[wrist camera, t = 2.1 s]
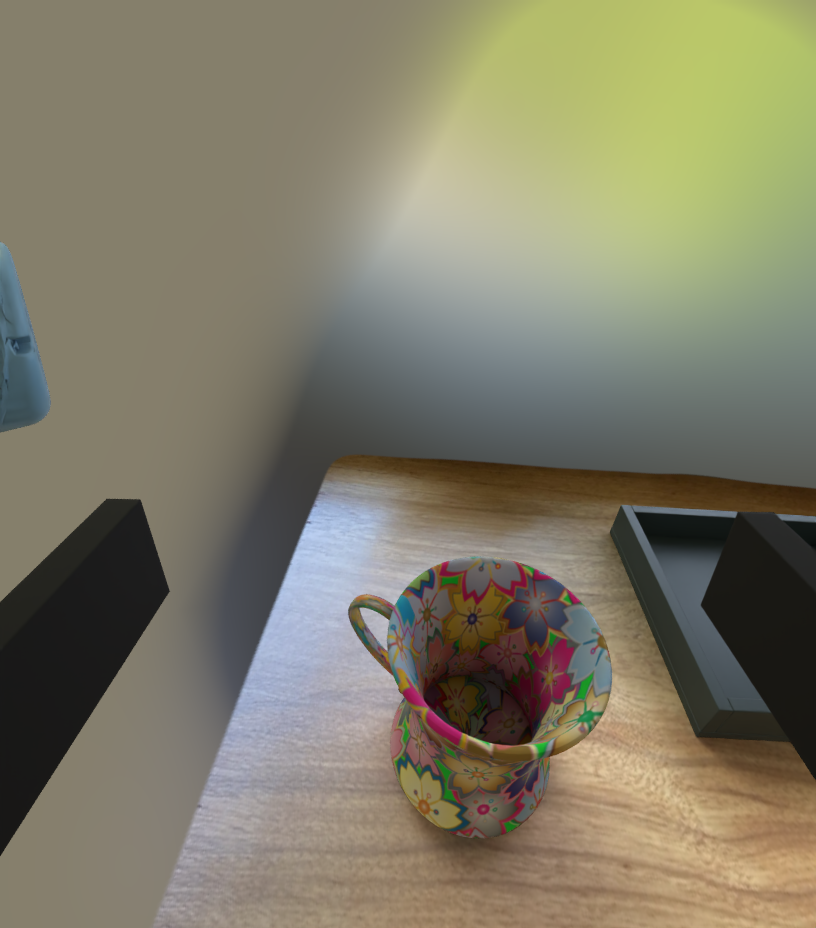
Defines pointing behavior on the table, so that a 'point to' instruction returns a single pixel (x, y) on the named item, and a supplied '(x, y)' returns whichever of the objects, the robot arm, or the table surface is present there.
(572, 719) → the mug
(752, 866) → the table surface
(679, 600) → the tray
